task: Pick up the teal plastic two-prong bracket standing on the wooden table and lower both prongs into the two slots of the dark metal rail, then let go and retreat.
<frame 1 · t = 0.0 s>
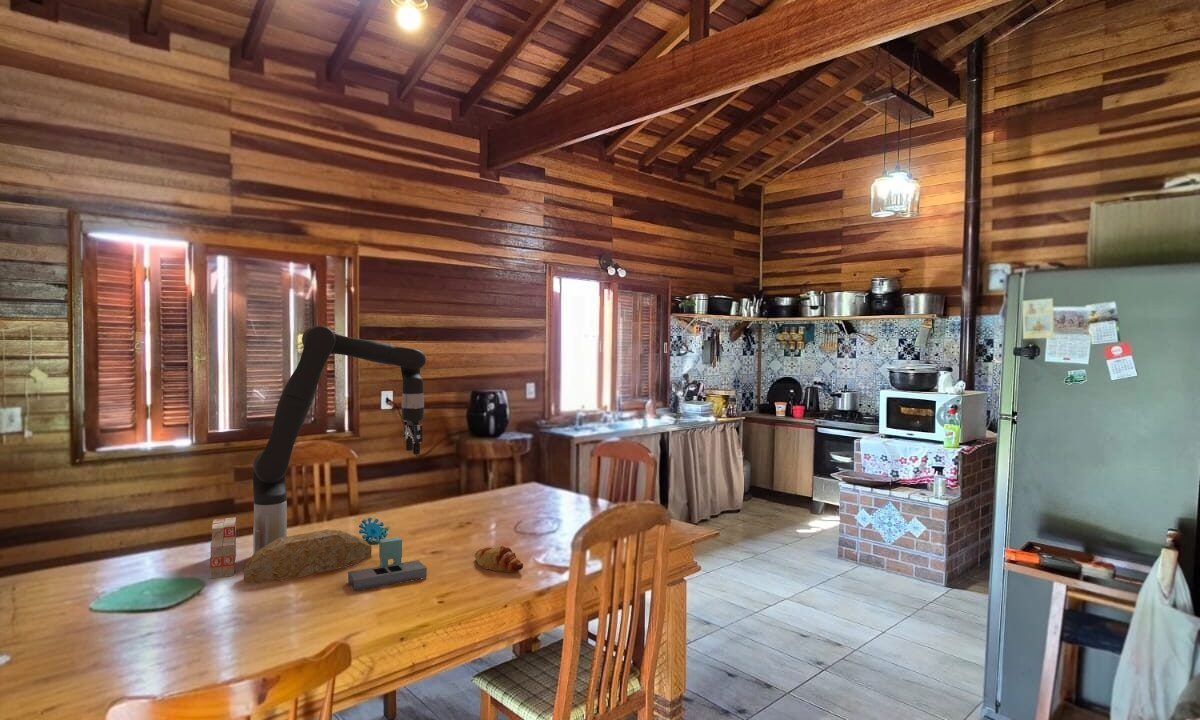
hand: (412, 452, 234), 29 cm above the table, tool pointing down, fingers open, 8 cm apart
gear: (374, 541, 228), on the table
stack of blocks: (223, 567, 201), on the table
rail: (387, 580, 191), on the table
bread: (310, 569, 200), on the table
clip: (390, 565, 203), on the table
croissant: (498, 567, 203), on the table
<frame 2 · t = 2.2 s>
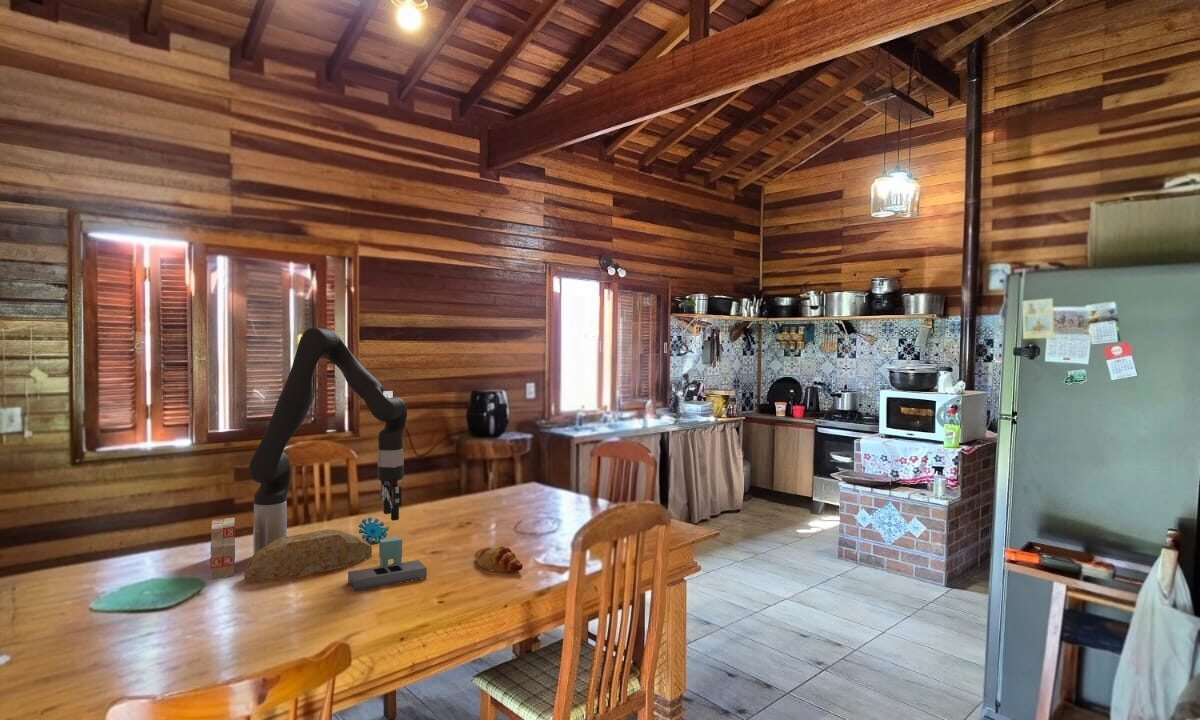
hand: (391, 516, 202), 15 cm above the table, tool pointing down, fingers open, 8 cm apart
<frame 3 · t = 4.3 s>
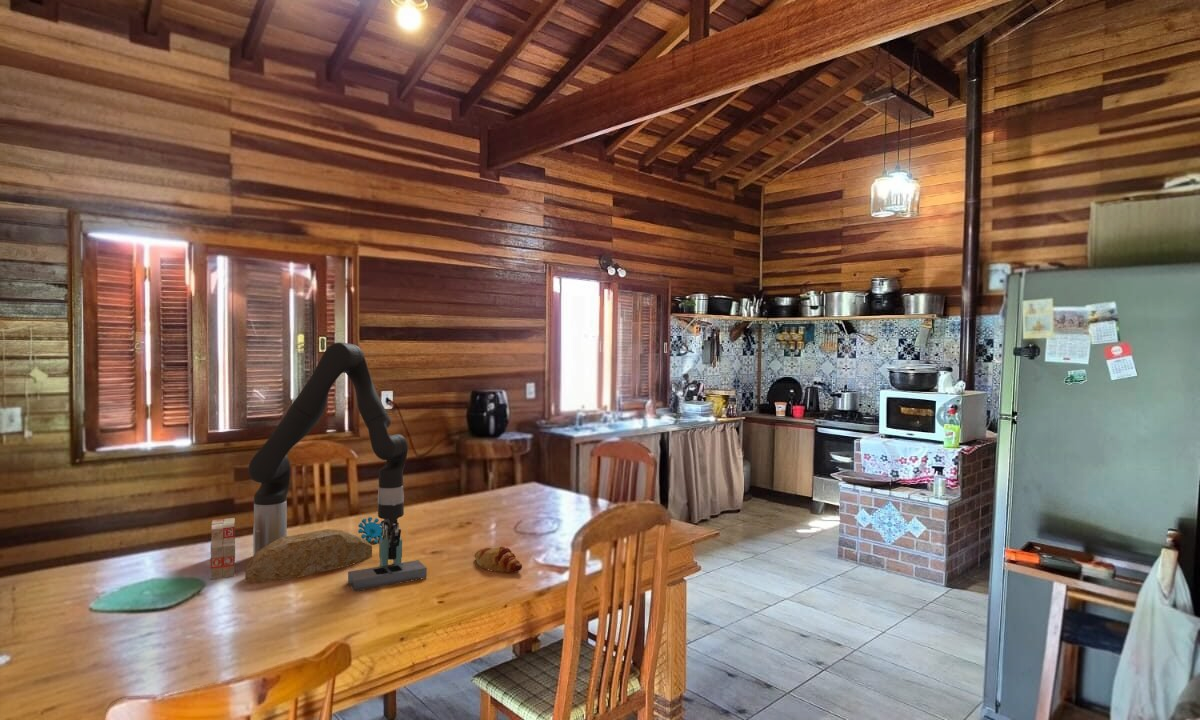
hand: (390, 557, 203), 3 cm above the table, tool pointing down, fingers closed on clip, 3 cm apart
clip: (390, 565, 203), on the table, touching gripper
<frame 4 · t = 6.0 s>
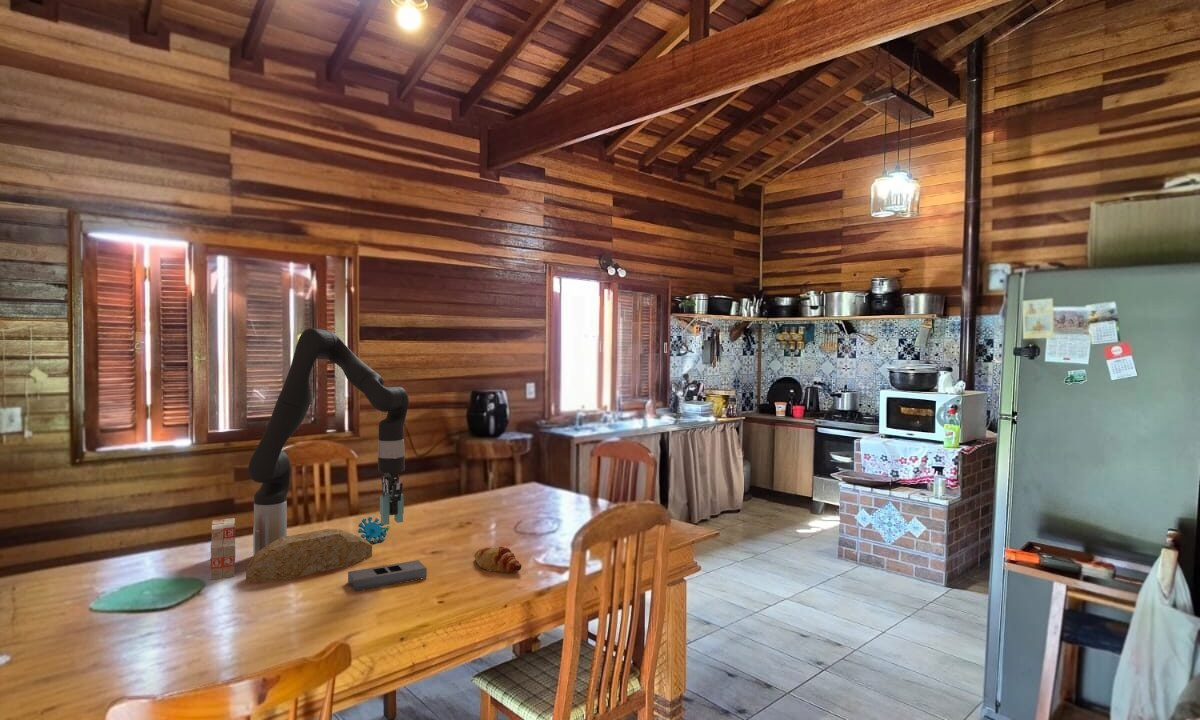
hand: (391, 513, 196), 18 cm above the table, tool pointing down, fingers closed on clip, 3 cm apart
clip: (391, 522, 197), point 15 cm above the table, touching gripper
everything else where it was.
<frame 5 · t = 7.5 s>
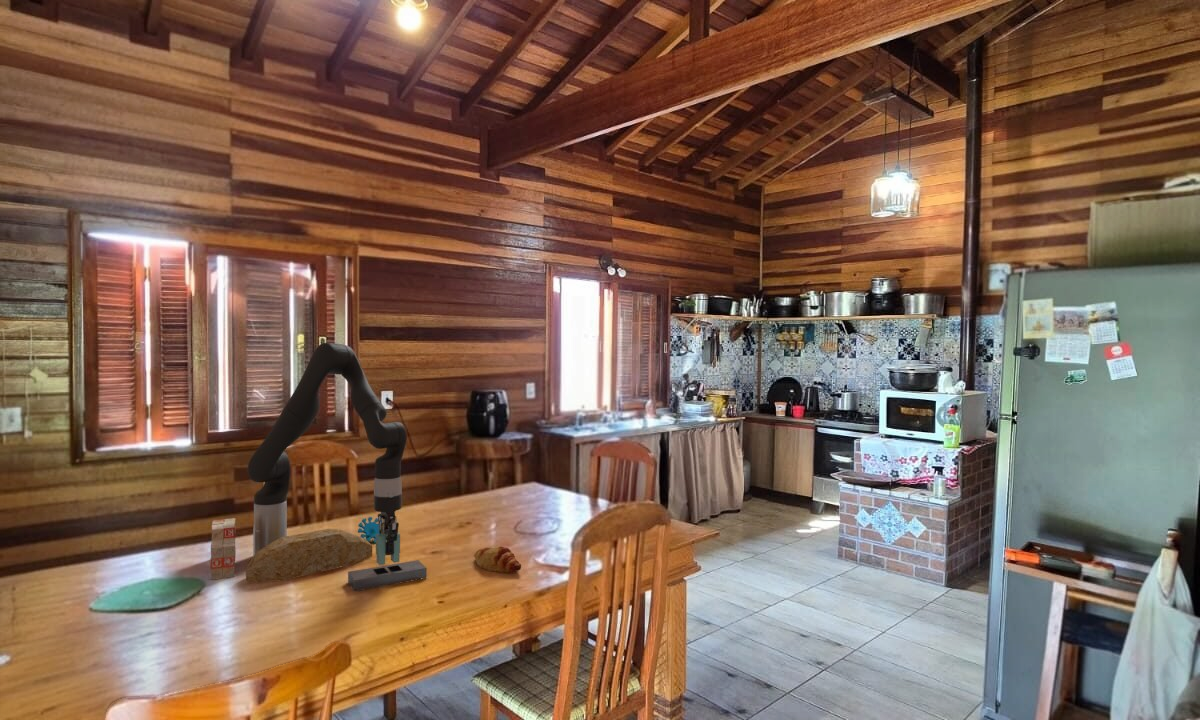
hand: (387, 552, 190), 8 cm above the table, tool pointing down, fingers closed on clip, 3 cm apart
clip: (388, 561, 190), point 5 cm above the table, touching gripper
when the fingers open (4 cm above the table, at t = 8.7 s): clip stays where it is, resting on rail.
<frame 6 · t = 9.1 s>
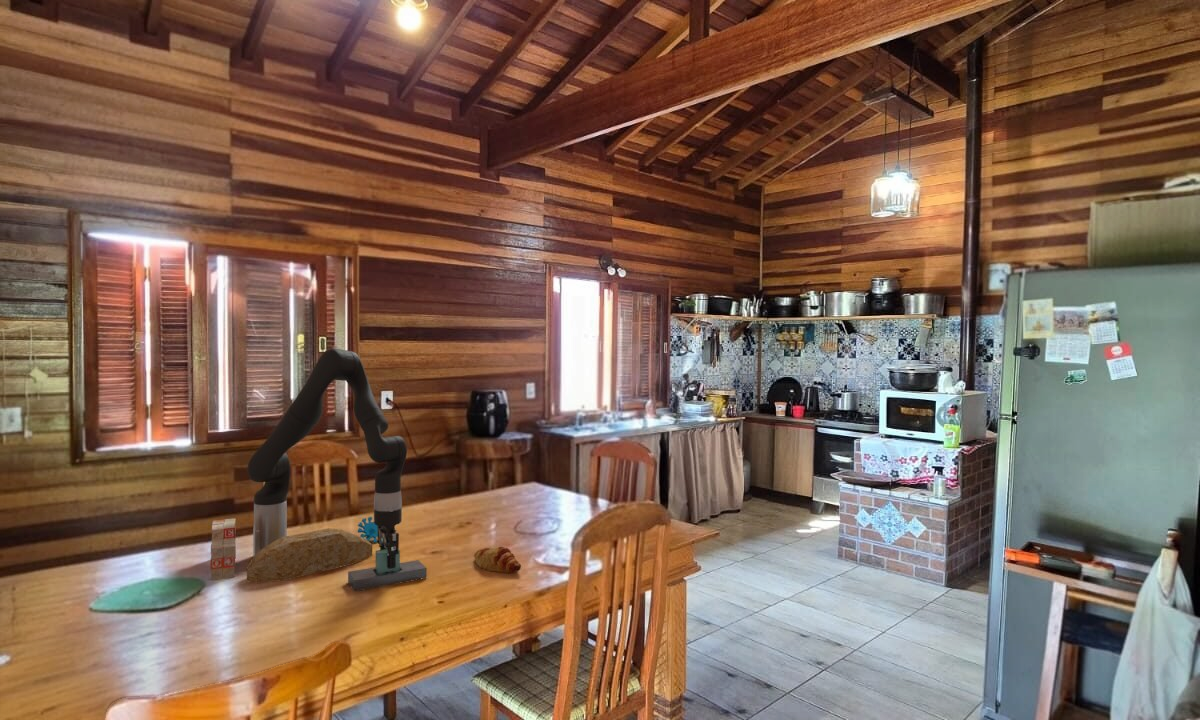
hand: (387, 564, 190), 5 cm above the table, tool pointing down, fingers open, 7 cm apart
clip: (387, 578, 191), resting on rail
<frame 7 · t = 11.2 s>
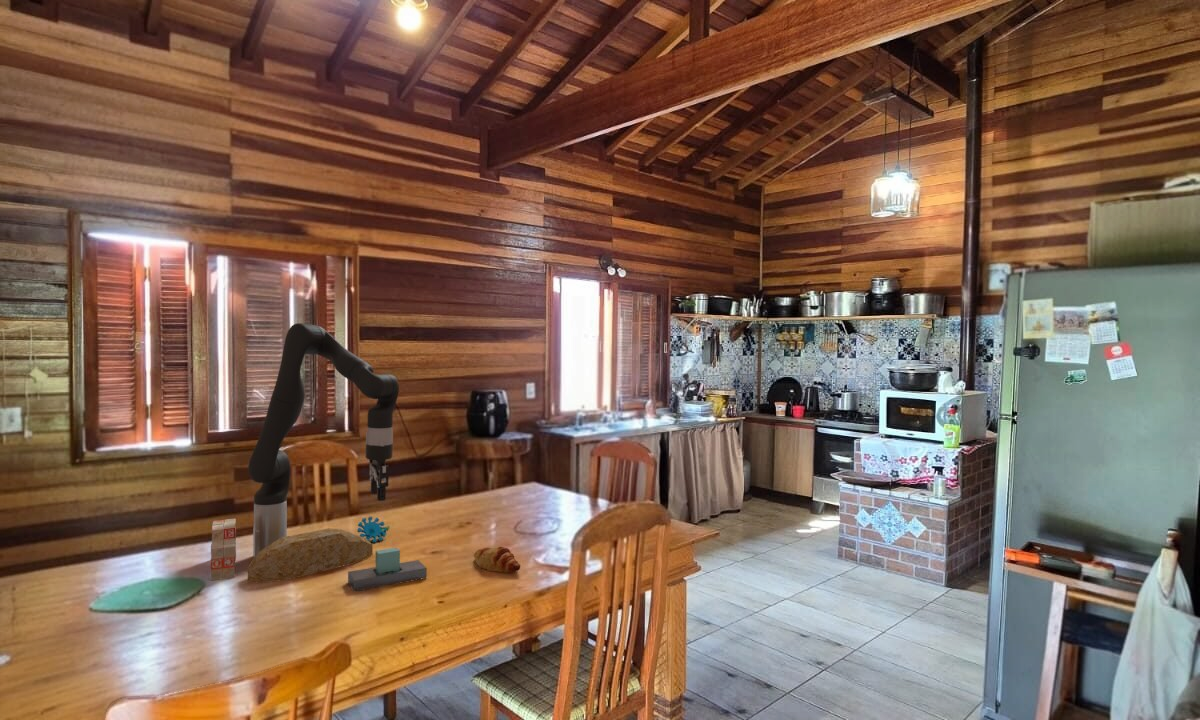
hand: (377, 497, 196), 22 cm above the table, tool pointing down, fingers open, 8 cm apart
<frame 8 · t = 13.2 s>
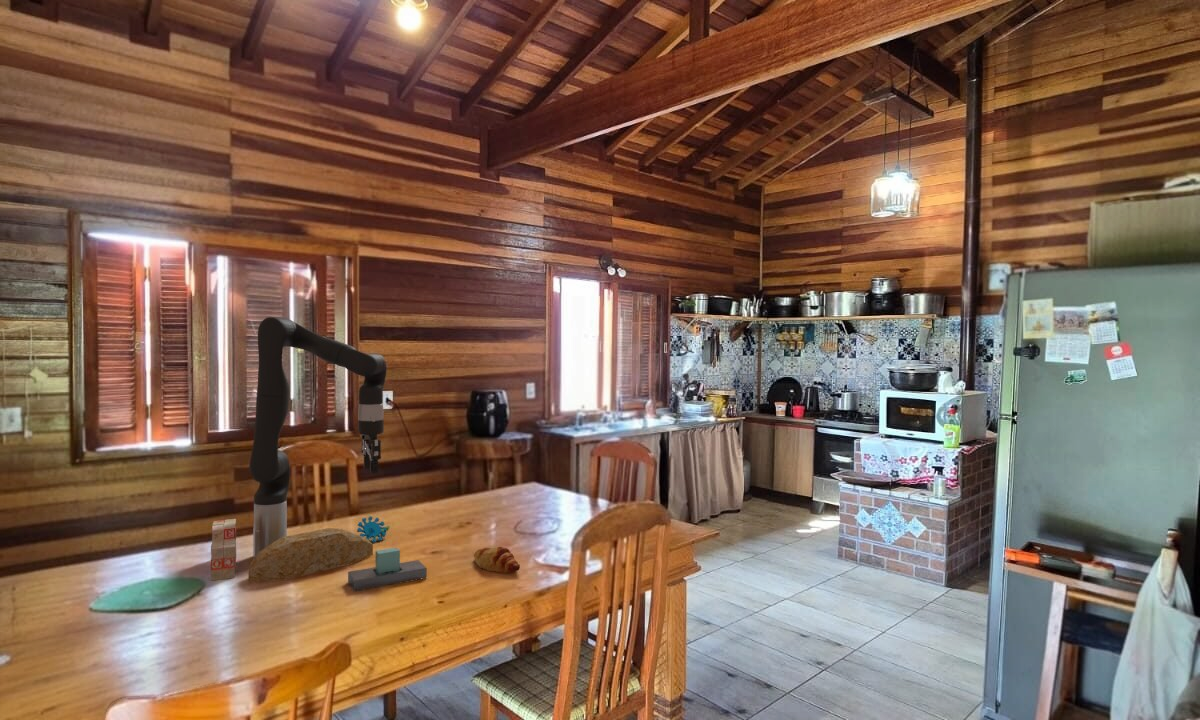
hand: (370, 470, 207), 28 cm above the table, tool pointing down, fingers open, 8 cm apart
at the end: clip 0.1 cm off-centre on the rail, point 0.5 cm above the rail's base; clip tilted 0°; the gripper is holding nothing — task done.
